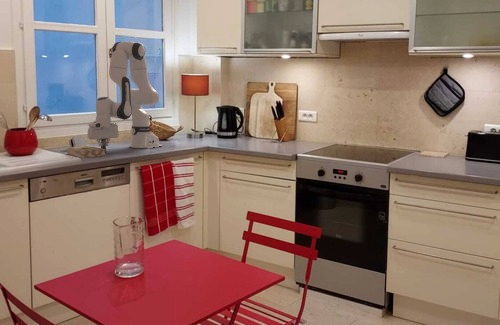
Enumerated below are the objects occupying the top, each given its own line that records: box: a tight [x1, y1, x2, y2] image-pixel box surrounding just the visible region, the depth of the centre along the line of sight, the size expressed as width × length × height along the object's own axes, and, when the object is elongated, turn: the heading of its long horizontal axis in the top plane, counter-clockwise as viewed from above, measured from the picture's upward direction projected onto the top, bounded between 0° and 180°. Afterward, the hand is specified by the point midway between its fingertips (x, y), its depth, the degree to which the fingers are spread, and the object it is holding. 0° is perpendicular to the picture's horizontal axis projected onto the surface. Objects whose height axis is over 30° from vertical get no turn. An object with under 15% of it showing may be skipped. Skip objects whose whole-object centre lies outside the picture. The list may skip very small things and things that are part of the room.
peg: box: [100, 139, 107, 154], centre depth 344 cm, size 3×3×9 cm
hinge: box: [68, 134, 92, 147], centre depth 354 cm, size 17×5×10 cm, turn 166°
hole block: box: [66, 145, 106, 159], centre depth 332 cm, size 14×18×4 cm
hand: (103, 145), depth 344 cm, fingers closed on peg, 3 cm apart
